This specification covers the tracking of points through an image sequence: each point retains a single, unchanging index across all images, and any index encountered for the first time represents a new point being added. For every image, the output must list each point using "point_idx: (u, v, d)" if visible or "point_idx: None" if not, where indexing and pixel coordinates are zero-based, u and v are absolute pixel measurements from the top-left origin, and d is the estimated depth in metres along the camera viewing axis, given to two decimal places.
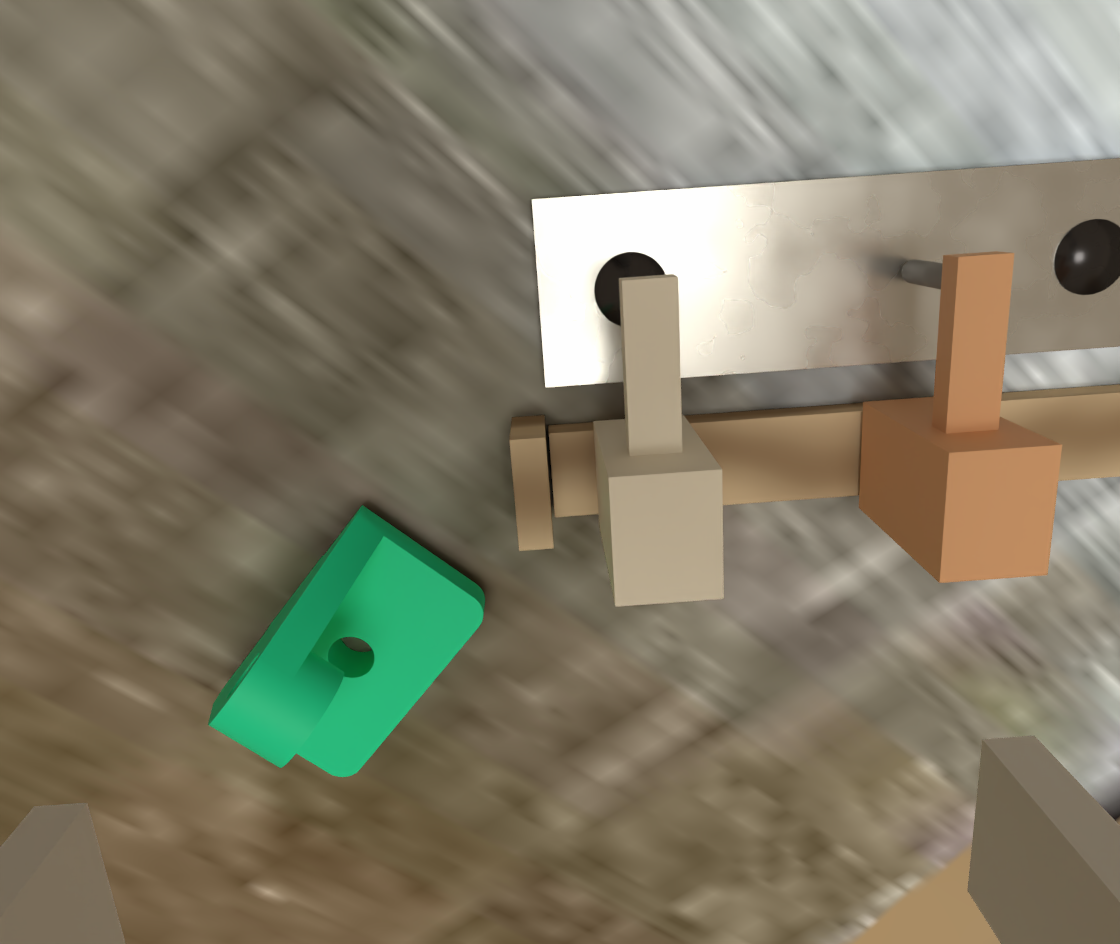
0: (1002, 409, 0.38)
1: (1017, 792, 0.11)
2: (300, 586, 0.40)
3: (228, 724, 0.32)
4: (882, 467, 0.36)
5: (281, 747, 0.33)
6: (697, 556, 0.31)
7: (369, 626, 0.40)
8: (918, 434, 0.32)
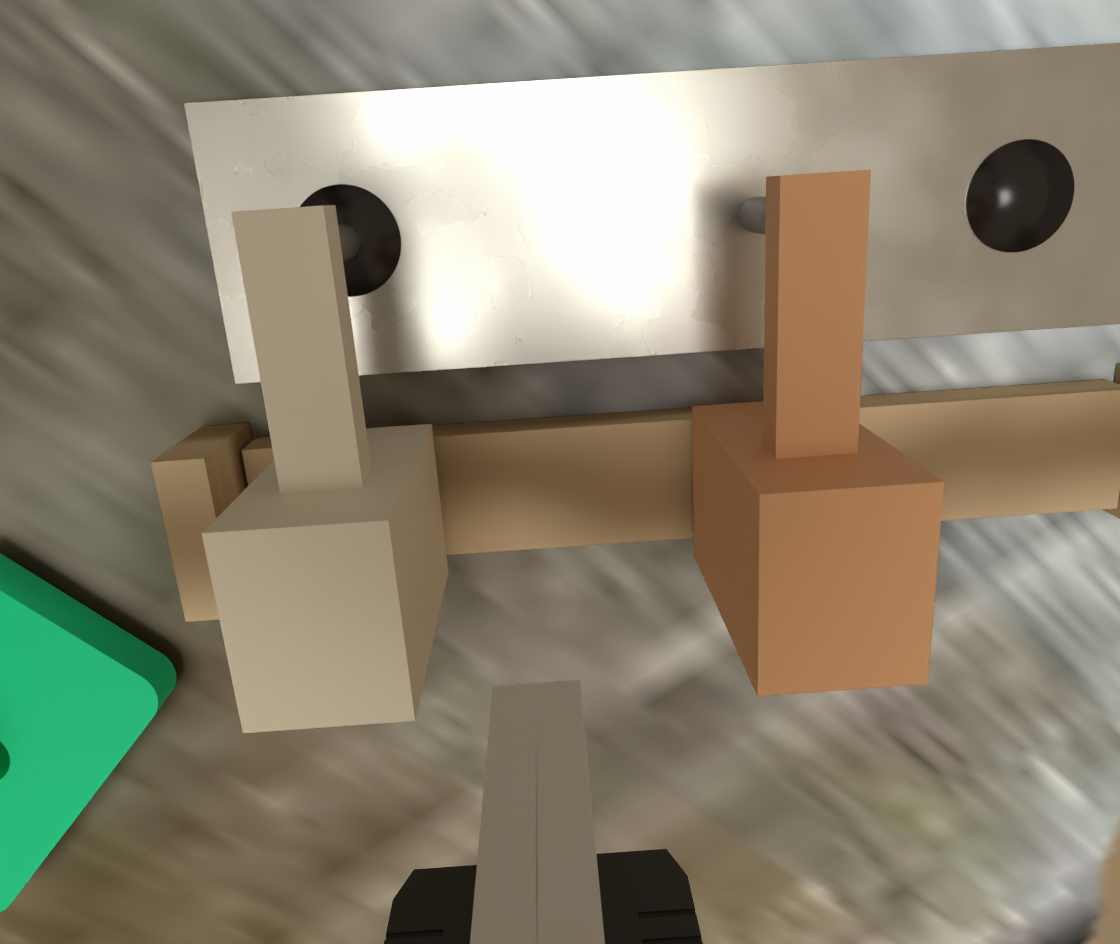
0: (895, 417, 0.27)
1: (536, 724, 0.14)
2: None
3: None
4: (708, 503, 0.24)
5: None
6: (364, 656, 0.19)
7: None
8: (733, 460, 0.21)
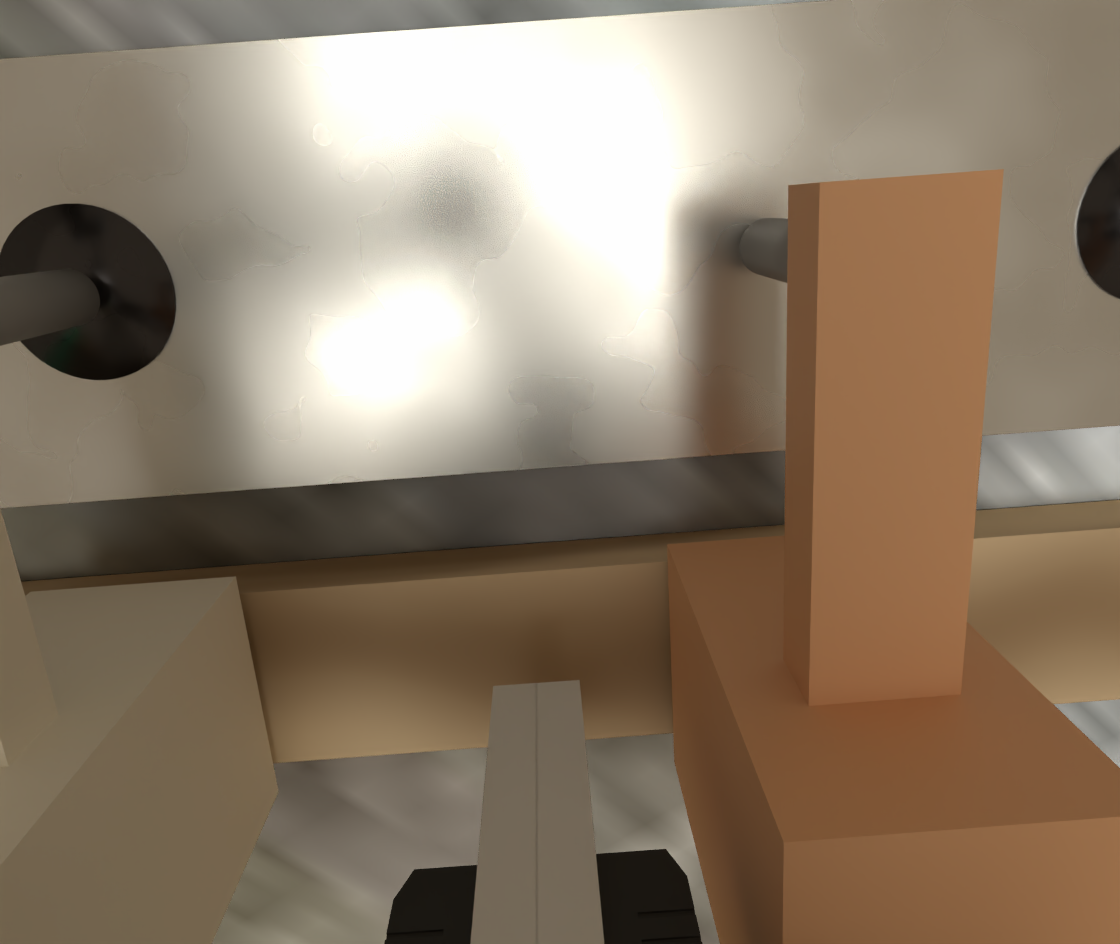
0: None
1: (536, 724, 0.14)
2: None
3: None
4: (691, 718, 0.15)
5: None
6: None
7: None
8: (730, 705, 0.11)
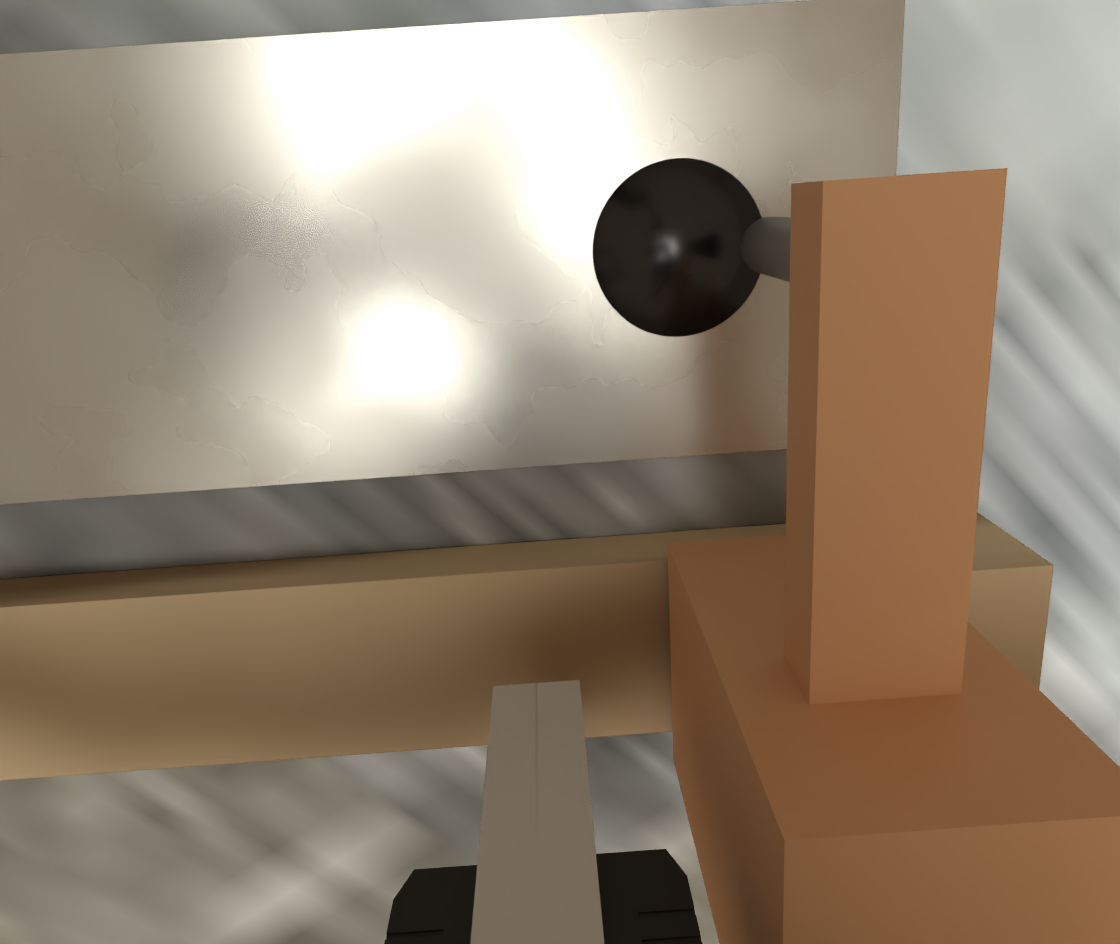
0: (515, 588, 0.17)
1: (536, 724, 0.14)
2: None
3: None
4: (691, 716, 0.15)
5: None
6: None
7: None
8: (730, 703, 0.11)
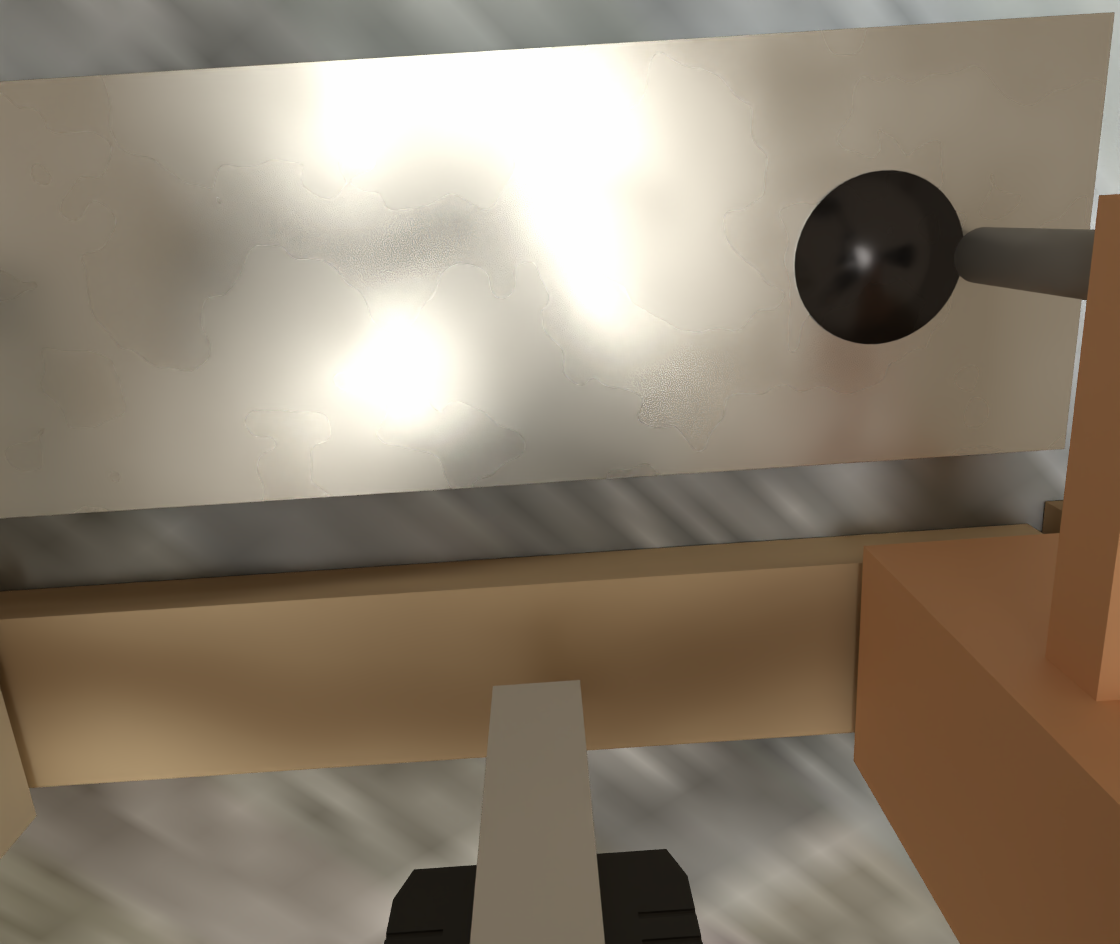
0: (701, 591, 0.17)
1: (536, 724, 0.14)
2: None
3: None
4: (908, 716, 0.15)
5: None
6: None
7: None
8: (1016, 700, 0.12)
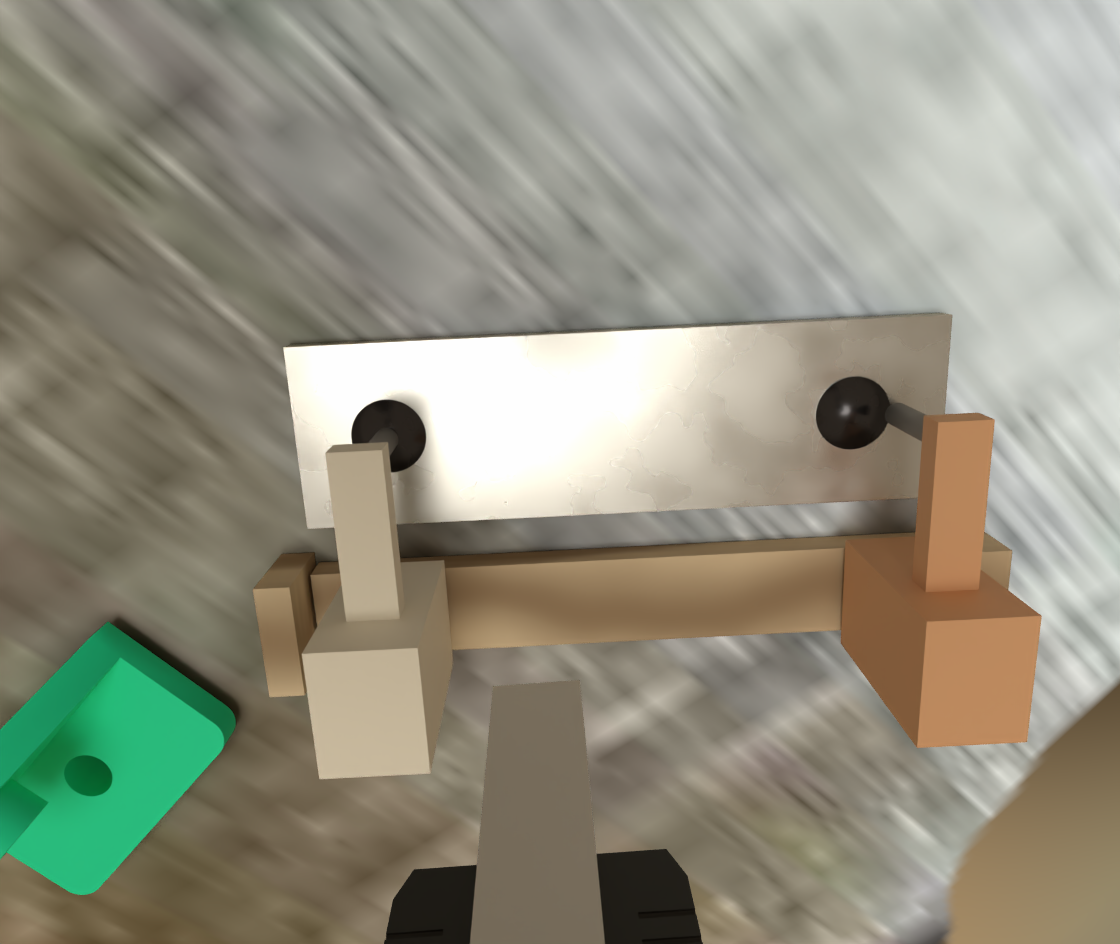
0: (770, 559, 0.38)
1: (536, 724, 0.14)
2: None
3: None
4: (863, 612, 0.36)
5: None
6: (399, 731, 0.30)
7: (106, 746, 0.39)
8: (897, 592, 0.32)
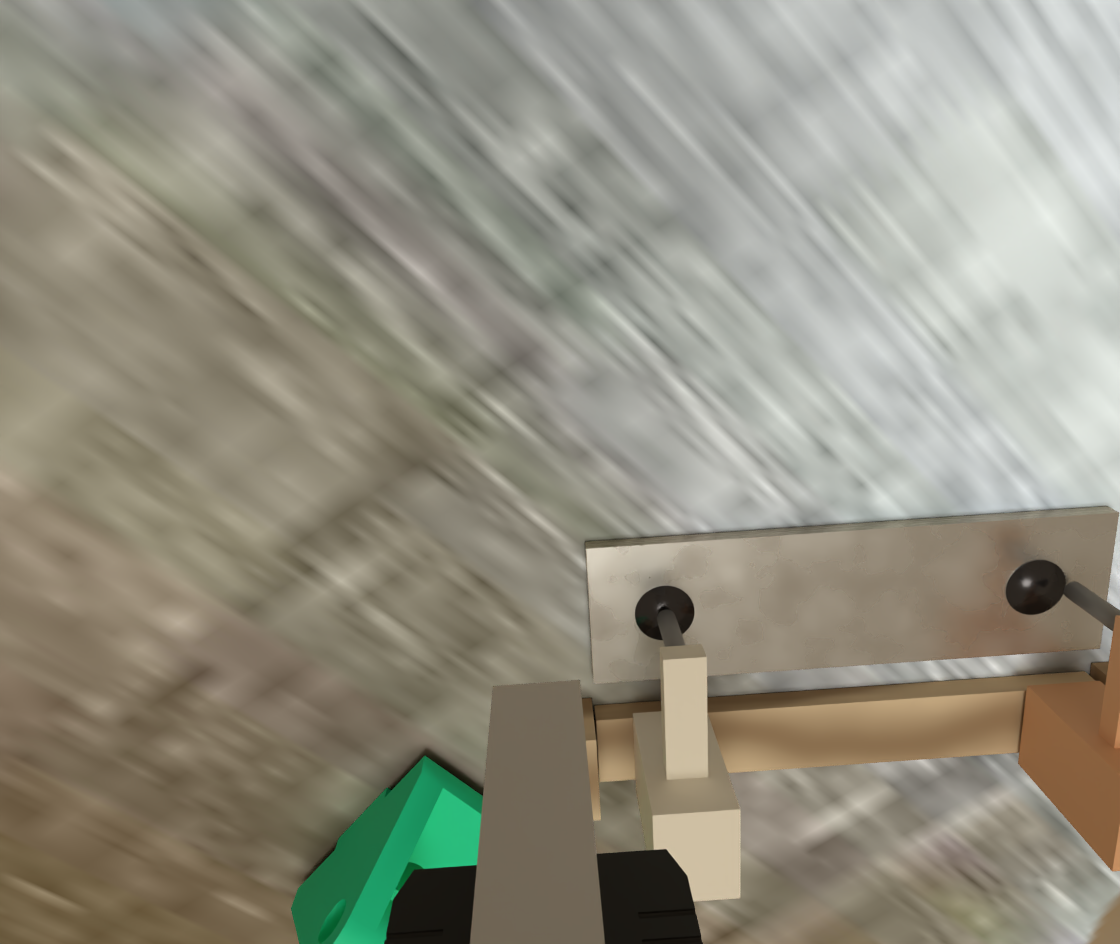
0: (965, 700, 0.47)
1: (536, 724, 0.14)
2: (368, 815, 0.49)
3: None
4: (1048, 749, 0.45)
5: None
6: (720, 868, 0.40)
7: (425, 855, 0.48)
8: (1091, 748, 0.41)
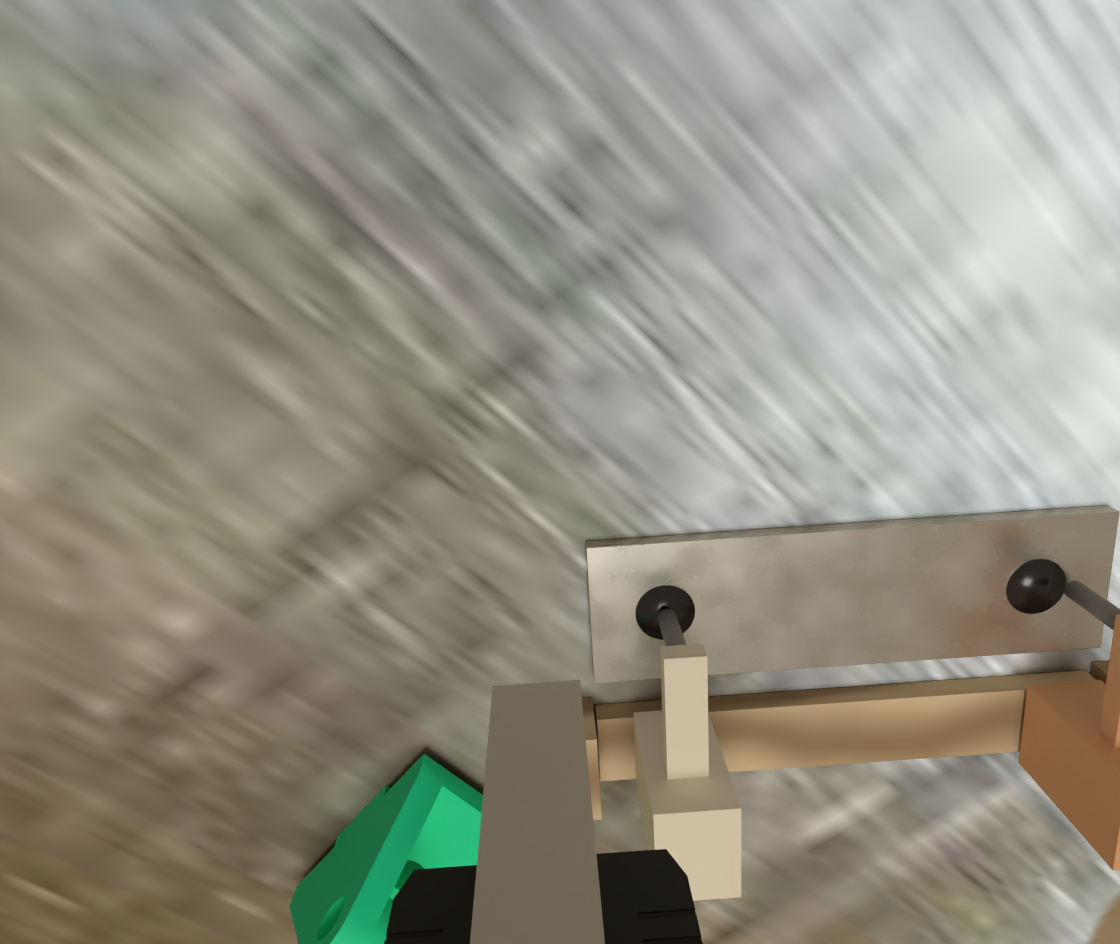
0: (965, 700, 0.47)
1: (536, 724, 0.14)
2: (367, 813, 0.49)
3: None
4: (1049, 748, 0.45)
5: None
6: (720, 867, 0.40)
7: (424, 853, 0.48)
8: (1092, 746, 0.41)
